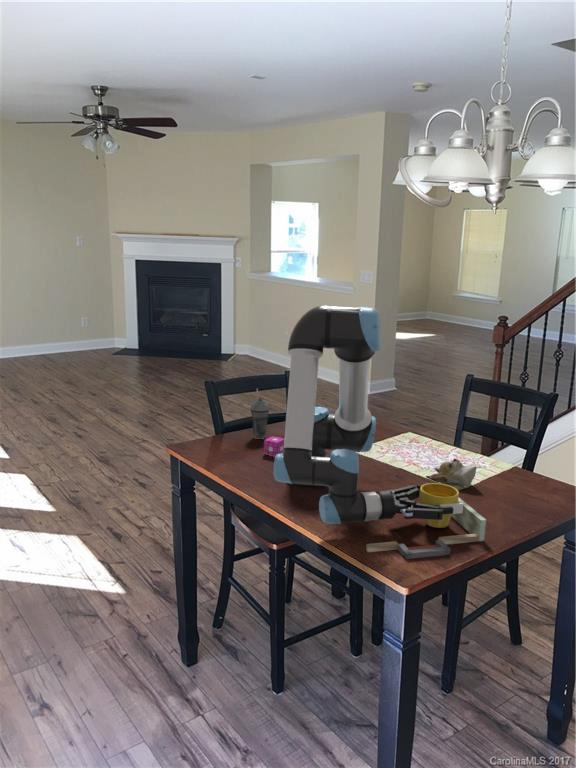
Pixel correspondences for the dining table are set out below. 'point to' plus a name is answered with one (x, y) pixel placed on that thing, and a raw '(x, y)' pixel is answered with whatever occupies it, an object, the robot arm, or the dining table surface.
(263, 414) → the beverage cup
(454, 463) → the ceramic sculpture
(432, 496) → the plant pot
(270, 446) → the puzzle toy
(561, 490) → the dining table surface
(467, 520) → the box
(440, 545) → the trap bays
